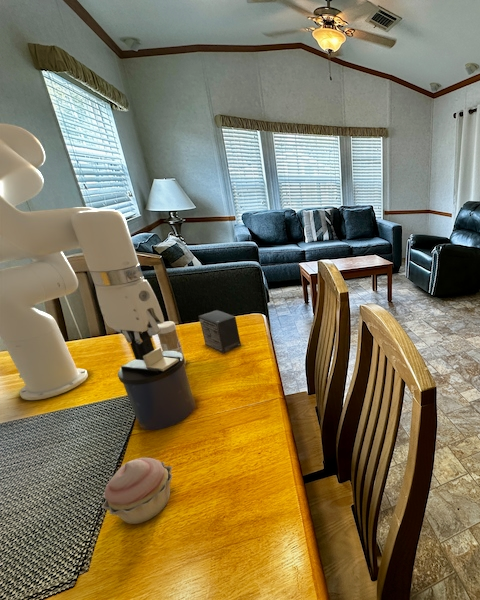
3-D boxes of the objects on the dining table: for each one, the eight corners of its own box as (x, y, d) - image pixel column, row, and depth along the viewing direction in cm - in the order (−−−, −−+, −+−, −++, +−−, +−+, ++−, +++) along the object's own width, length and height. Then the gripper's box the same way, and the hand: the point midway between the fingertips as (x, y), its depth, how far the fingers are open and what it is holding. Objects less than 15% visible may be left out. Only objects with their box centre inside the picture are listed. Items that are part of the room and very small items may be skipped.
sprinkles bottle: (186, 367, 93) (174, 325, 88) (167, 372, 91) (154, 329, 86) (186, 360, 97) (174, 319, 92) (167, 364, 95) (154, 323, 90)
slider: (146, 368, 69) (141, 356, 68) (162, 359, 73) (158, 347, 71) (163, 371, 68) (159, 358, 67) (179, 361, 72) (175, 349, 71)
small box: (243, 345, 105) (236, 315, 101) (223, 354, 100) (216, 323, 96) (223, 337, 110) (217, 308, 106) (204, 345, 105) (196, 315, 101)
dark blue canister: (123, 427, 72) (101, 373, 67) (168, 393, 82) (152, 345, 77) (167, 434, 70) (148, 379, 64) (208, 399, 80) (194, 350, 75)
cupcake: (124, 491, 57) (104, 448, 54) (185, 475, 60) (170, 433, 57) (100, 544, 49) (75, 498, 45) (172, 522, 52) (154, 477, 48)
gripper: (166, 272, 66) (189, 351, 72) (106, 268, 69) (134, 344, 75) (131, 284, 59) (159, 370, 66) (66, 279, 62) (100, 362, 69)
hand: (145, 356), depth 70 cm, fingers closed
